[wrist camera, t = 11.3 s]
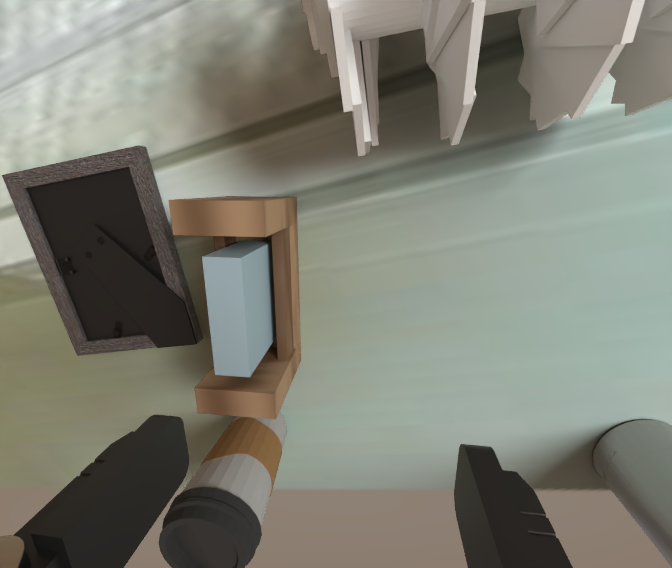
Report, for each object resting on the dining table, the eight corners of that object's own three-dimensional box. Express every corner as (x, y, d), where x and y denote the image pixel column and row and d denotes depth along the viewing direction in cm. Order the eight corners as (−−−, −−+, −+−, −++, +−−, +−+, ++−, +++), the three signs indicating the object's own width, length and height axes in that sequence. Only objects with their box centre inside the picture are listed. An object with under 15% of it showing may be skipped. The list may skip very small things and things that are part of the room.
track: (296, 197, 32) (263, 201, 22) (301, 360, 37) (275, 419, 28) (228, 196, 33) (168, 200, 23) (242, 356, 38) (197, 412, 28)
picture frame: (205, 336, 38) (149, 147, 33) (196, 344, 36) (135, 145, 31) (88, 349, 41) (17, 175, 35) (74, 357, 39) (-3, 174, 33)
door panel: (273, 240, 31) (240, 258, 24) (277, 335, 34) (249, 377, 27) (235, 239, 32) (191, 256, 24) (242, 333, 35) (205, 374, 27)
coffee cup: (248, 456, 42) (183, 595, 28) (219, 403, 40) (133, 523, 26) (306, 442, 40) (269, 581, 26) (278, 386, 39) (222, 503, 24)
